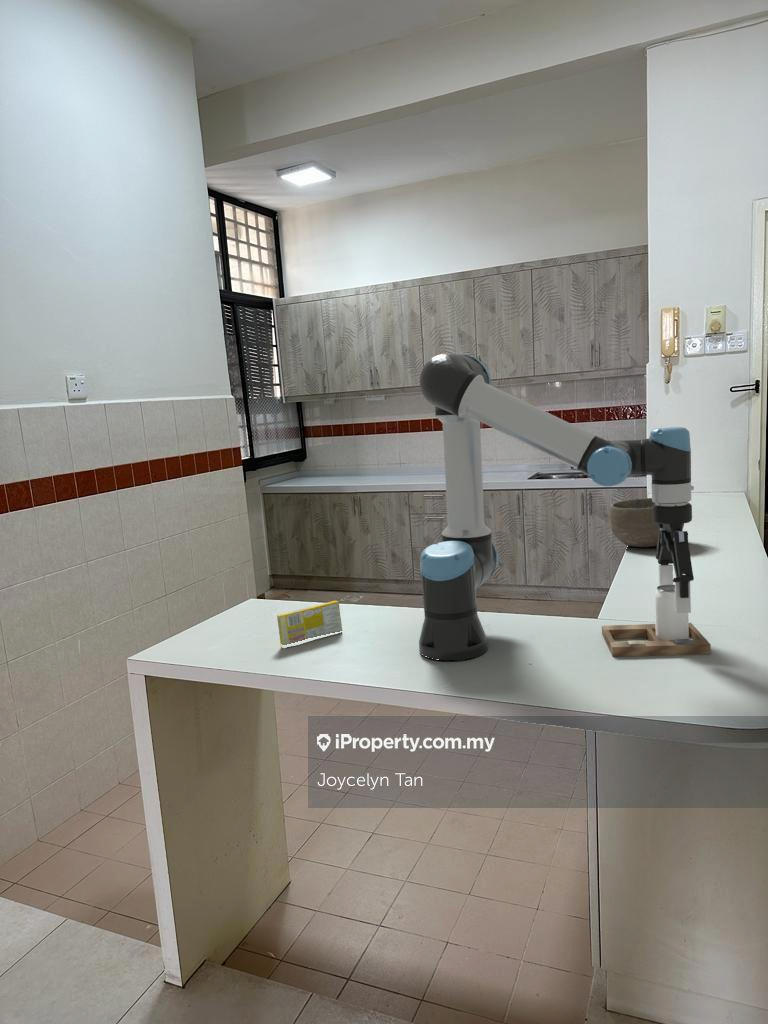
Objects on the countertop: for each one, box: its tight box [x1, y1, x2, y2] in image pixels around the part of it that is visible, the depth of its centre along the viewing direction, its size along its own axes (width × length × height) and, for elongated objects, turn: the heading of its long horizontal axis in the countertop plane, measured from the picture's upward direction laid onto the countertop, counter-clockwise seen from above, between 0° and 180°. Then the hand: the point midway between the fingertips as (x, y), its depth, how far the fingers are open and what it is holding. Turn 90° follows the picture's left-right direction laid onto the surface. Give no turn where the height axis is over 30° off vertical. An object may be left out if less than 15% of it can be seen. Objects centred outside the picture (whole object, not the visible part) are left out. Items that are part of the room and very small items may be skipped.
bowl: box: [608, 497, 685, 548], centre depth 242 cm, size 24×24×15 cm
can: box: [654, 584, 690, 641], centre depth 148 cm, size 6×6×12 cm
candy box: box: [276, 600, 343, 645], centre depth 171 cm, size 16×2×8 cm, turn 123°
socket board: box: [601, 622, 712, 658], centre depth 149 cm, size 19×14×2 cm
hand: (674, 603), depth 147 cm, fingers open, 13 cm apart
